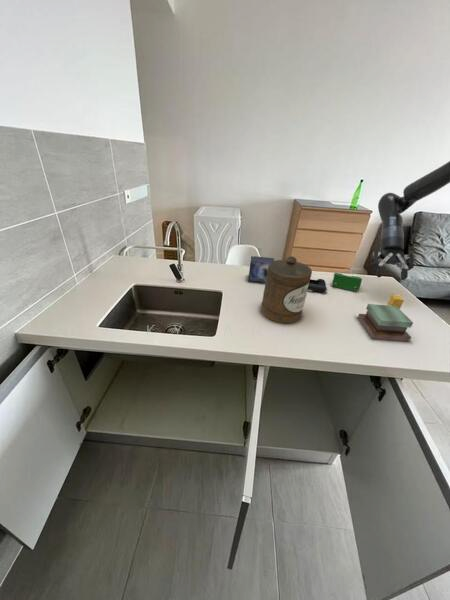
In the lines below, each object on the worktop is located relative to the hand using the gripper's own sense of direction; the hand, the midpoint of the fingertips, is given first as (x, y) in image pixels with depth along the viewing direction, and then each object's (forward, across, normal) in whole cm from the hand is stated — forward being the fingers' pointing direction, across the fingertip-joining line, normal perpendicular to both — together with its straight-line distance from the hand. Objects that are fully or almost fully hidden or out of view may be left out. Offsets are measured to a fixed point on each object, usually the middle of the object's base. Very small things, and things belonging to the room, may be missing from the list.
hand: (391, 278), depth 93 cm
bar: (+15, 0, +2) cm, 15 cm away
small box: (+3, -50, +15) cm, 52 cm away
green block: (-1, -11, +18) cm, 21 cm away
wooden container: (+20, -40, -2) cm, 45 cm away
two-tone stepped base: (+21, -5, -4) cm, 22 cm away
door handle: (+1, -30, +17) cm, 34 cm away
